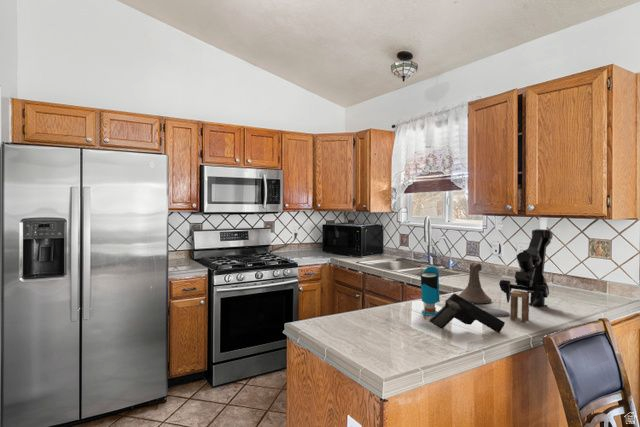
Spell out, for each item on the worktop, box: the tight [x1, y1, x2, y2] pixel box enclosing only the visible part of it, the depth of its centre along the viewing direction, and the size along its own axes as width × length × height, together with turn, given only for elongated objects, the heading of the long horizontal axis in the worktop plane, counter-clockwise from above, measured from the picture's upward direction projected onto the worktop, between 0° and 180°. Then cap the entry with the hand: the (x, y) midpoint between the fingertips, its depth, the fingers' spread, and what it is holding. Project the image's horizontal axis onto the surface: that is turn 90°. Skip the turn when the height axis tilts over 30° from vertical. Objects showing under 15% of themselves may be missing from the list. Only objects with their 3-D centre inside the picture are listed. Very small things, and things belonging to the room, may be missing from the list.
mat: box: [483, 308, 510, 318], centre depth 172 cm, size 11×11×1 cm
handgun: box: [429, 293, 506, 334], centre depth 149 cm, size 2×24×15 cm, turn 78°
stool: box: [509, 289, 530, 323], centre depth 162 cm, size 6×6×12 cm
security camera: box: [420, 266, 441, 316], centre depth 171 cm, size 8×21×10 cm
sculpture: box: [457, 261, 492, 305], centre depth 196 cm, size 17×17×20 cm
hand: (519, 304), depth 162 cm, fingers open, 9 cm apart
